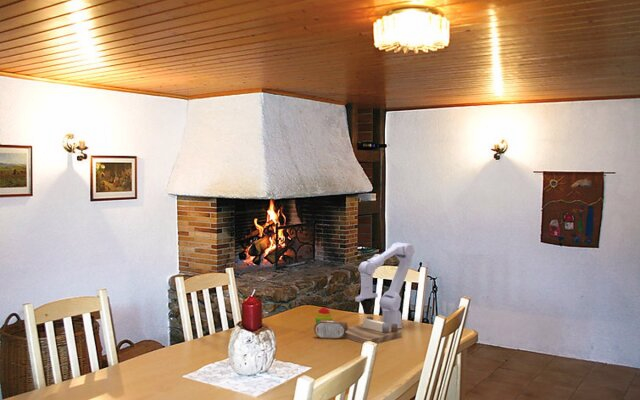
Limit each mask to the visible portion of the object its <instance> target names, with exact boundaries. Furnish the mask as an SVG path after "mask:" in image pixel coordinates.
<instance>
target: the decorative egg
mask: <svg viewBox="0 0 640 400" xmlns="http://www.w3.org/2000/svg"><path fill="white" fill-rule="evenodd" d="M332 319H333V316H332V314H331V312H330V310H329V309H328V308H326V307H321V308H320V309H319V310H318V311H317V313H316V315H315V324H316V323H317V322H318V321H320V320H332Z"/></svg>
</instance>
